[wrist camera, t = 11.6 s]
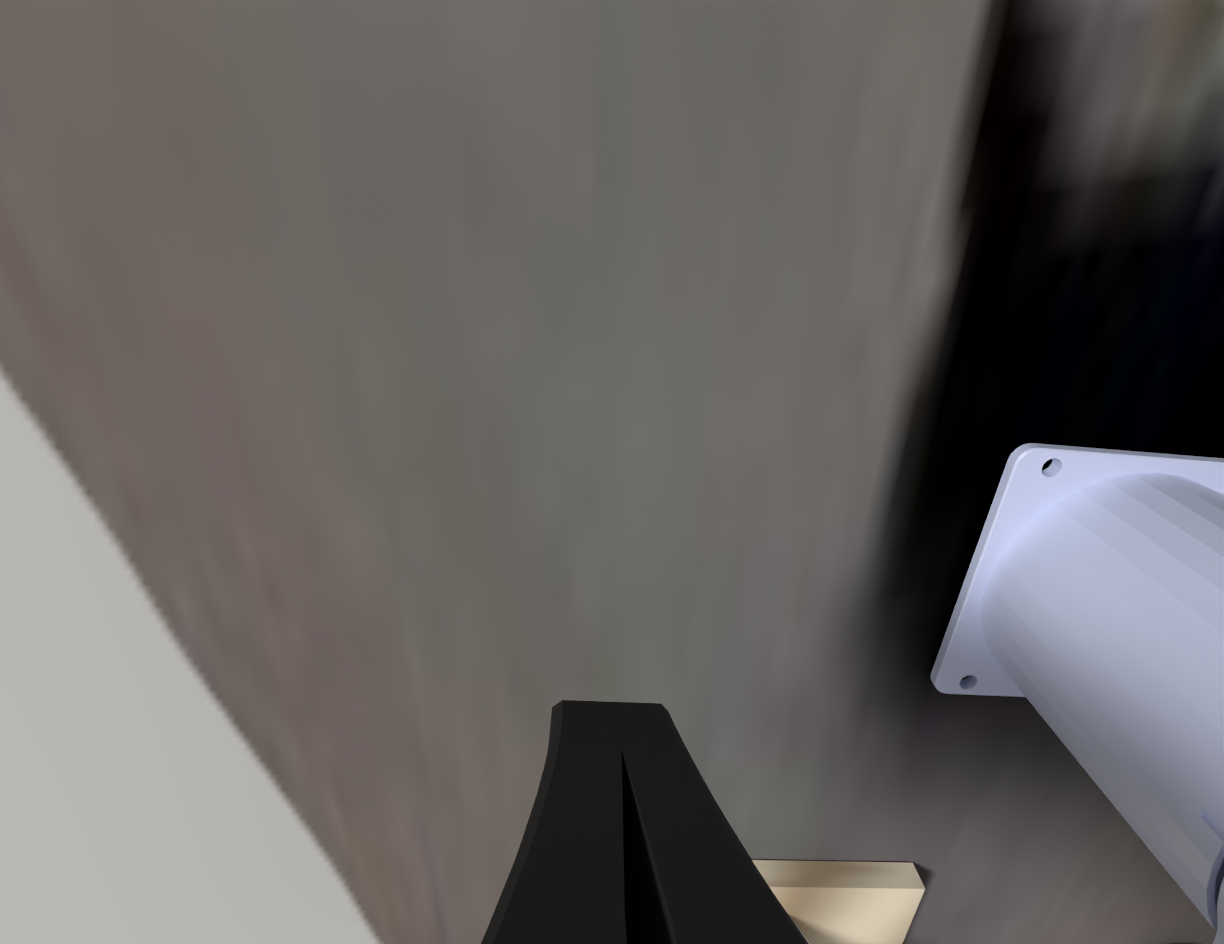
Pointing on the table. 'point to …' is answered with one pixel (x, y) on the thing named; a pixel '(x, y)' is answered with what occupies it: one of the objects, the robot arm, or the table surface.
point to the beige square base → (846, 898)
